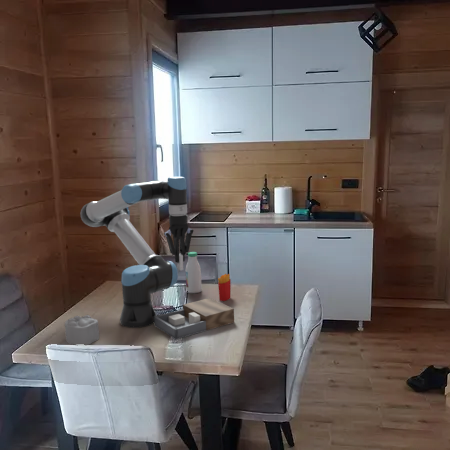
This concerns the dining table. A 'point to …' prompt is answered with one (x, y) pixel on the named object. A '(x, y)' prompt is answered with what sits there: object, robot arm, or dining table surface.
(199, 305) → the walnut platform
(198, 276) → the milk bottle
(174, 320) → the back tile
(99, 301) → the dining table surface
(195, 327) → the box
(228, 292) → the french fries
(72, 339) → the knobbly-topped grey block
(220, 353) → the dining table surface
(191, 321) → the front tile
